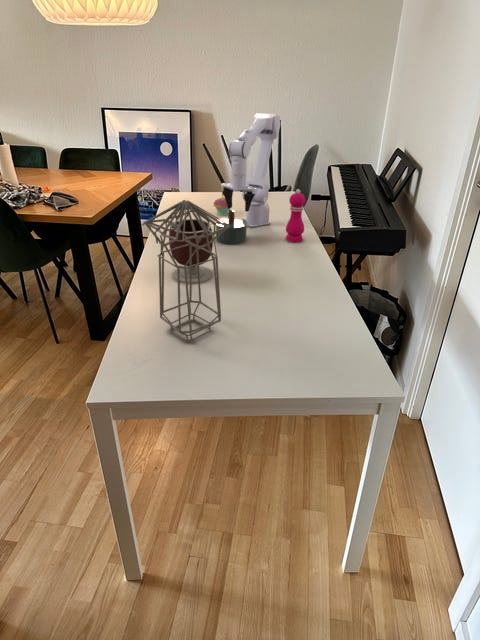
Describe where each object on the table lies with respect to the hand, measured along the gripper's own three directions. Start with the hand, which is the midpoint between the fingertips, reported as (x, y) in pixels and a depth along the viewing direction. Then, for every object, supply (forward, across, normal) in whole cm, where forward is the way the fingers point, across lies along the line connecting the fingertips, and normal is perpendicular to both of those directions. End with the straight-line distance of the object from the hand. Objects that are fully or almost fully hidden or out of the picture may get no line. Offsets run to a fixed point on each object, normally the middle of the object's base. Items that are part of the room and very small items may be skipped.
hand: (238, 209), depth 177 cm
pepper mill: (+11, +22, +6) cm, 25 cm away
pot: (+10, 0, -6) cm, 12 cm away
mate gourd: (+11, +3, -42) cm, 44 cm away
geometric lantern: (+11, +22, -72) cm, 76 cm away
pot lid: (+4, 0, -6) cm, 7 cm away
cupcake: (+11, -18, +21) cm, 30 cm away
